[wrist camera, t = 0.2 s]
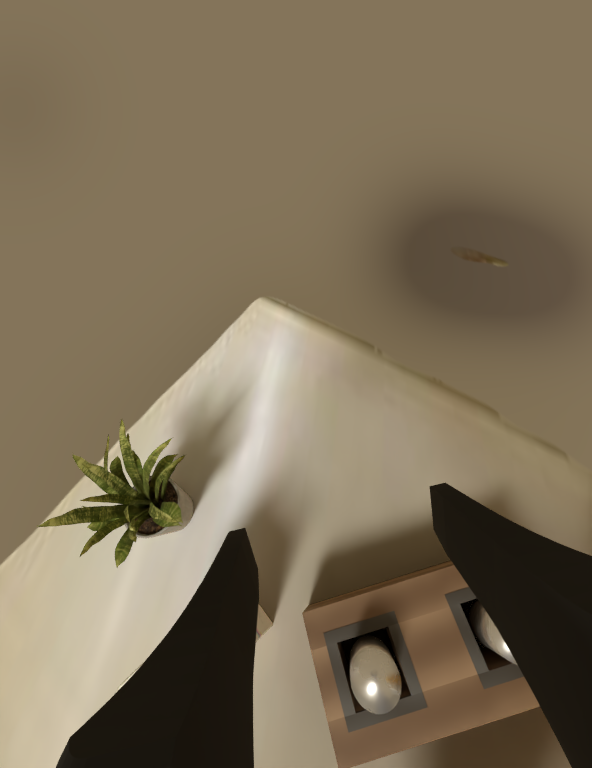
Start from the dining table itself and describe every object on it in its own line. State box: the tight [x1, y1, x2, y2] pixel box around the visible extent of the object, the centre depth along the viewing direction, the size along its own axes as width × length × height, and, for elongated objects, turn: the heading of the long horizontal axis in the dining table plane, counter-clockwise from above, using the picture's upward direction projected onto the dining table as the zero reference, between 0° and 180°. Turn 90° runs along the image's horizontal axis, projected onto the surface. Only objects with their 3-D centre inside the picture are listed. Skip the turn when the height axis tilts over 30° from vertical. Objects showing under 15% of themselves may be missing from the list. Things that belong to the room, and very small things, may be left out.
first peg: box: [469, 601, 517, 665], centre depth 29 cm, size 4×4×6 cm
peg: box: [350, 636, 401, 714], centre depth 29 cm, size 4×4×6 cm
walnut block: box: [302, 561, 540, 768], centre depth 32 cm, size 11×22×6 cm, turn 105°
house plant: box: [39, 420, 194, 567], centre depth 37 cm, size 14×14×16 cm
